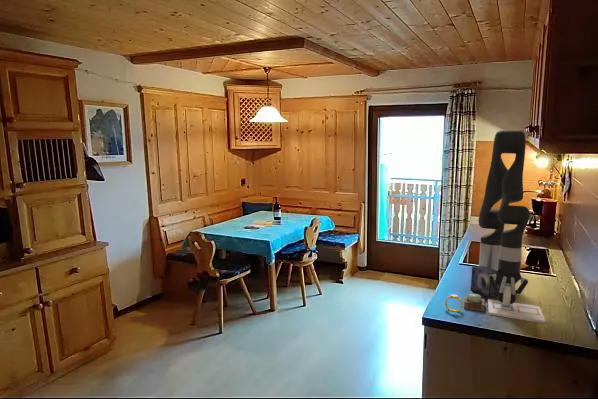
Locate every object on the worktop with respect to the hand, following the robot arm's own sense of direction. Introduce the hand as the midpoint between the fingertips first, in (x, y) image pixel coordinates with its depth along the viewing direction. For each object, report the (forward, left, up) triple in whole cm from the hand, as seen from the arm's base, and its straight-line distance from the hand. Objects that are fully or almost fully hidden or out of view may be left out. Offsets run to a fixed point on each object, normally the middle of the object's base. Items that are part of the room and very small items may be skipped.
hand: (506, 302), depth 160 cm
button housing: (+4, -11, -2) cm, 12 cm away
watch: (+12, -18, -2) cm, 22 cm away
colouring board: (+2, +3, -2) cm, 4 cm away
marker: (0, 0, -1) cm, 1 cm away
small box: (-16, -7, -2) cm, 17 cm away
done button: (+4, -11, -1) cm, 12 cm away
